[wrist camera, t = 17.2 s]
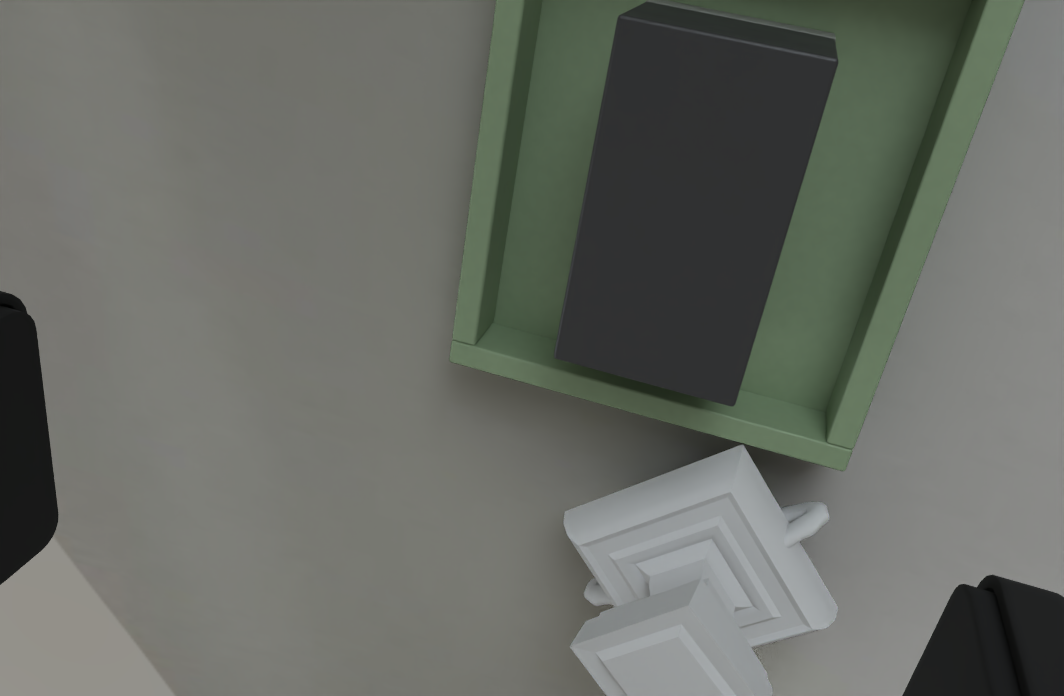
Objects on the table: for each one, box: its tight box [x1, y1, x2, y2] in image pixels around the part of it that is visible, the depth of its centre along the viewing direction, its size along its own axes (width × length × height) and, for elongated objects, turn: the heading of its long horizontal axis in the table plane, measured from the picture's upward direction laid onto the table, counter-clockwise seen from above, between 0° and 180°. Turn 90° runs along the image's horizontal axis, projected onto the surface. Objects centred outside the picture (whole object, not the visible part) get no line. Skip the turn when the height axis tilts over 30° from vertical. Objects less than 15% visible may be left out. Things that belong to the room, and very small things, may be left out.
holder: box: [449, 0, 1025, 471], centre depth 26 cm, size 15×13×3 cm
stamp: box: [563, 444, 838, 696], centre depth 29 cm, size 9×7×8 cm
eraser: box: [554, 0, 838, 406], centre depth 25 cm, size 9×5×5 cm, turn 171°
